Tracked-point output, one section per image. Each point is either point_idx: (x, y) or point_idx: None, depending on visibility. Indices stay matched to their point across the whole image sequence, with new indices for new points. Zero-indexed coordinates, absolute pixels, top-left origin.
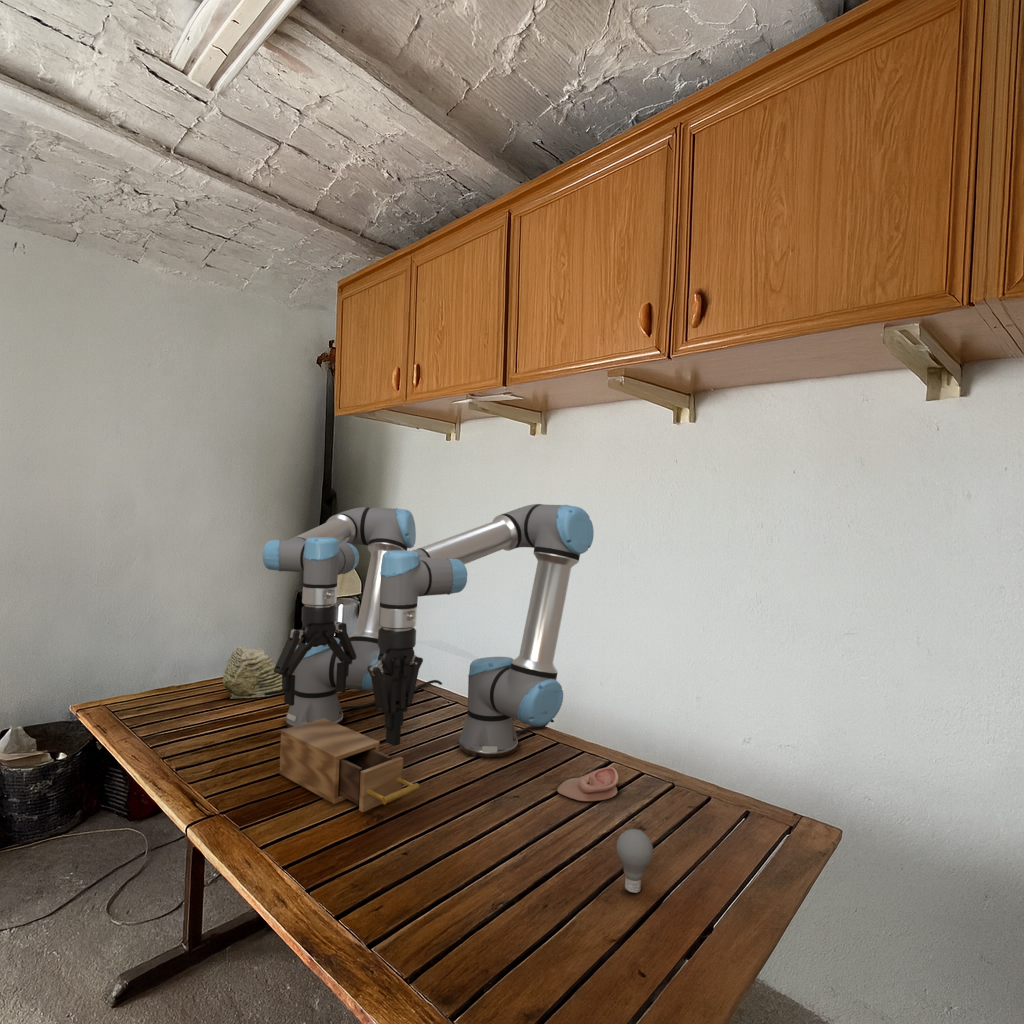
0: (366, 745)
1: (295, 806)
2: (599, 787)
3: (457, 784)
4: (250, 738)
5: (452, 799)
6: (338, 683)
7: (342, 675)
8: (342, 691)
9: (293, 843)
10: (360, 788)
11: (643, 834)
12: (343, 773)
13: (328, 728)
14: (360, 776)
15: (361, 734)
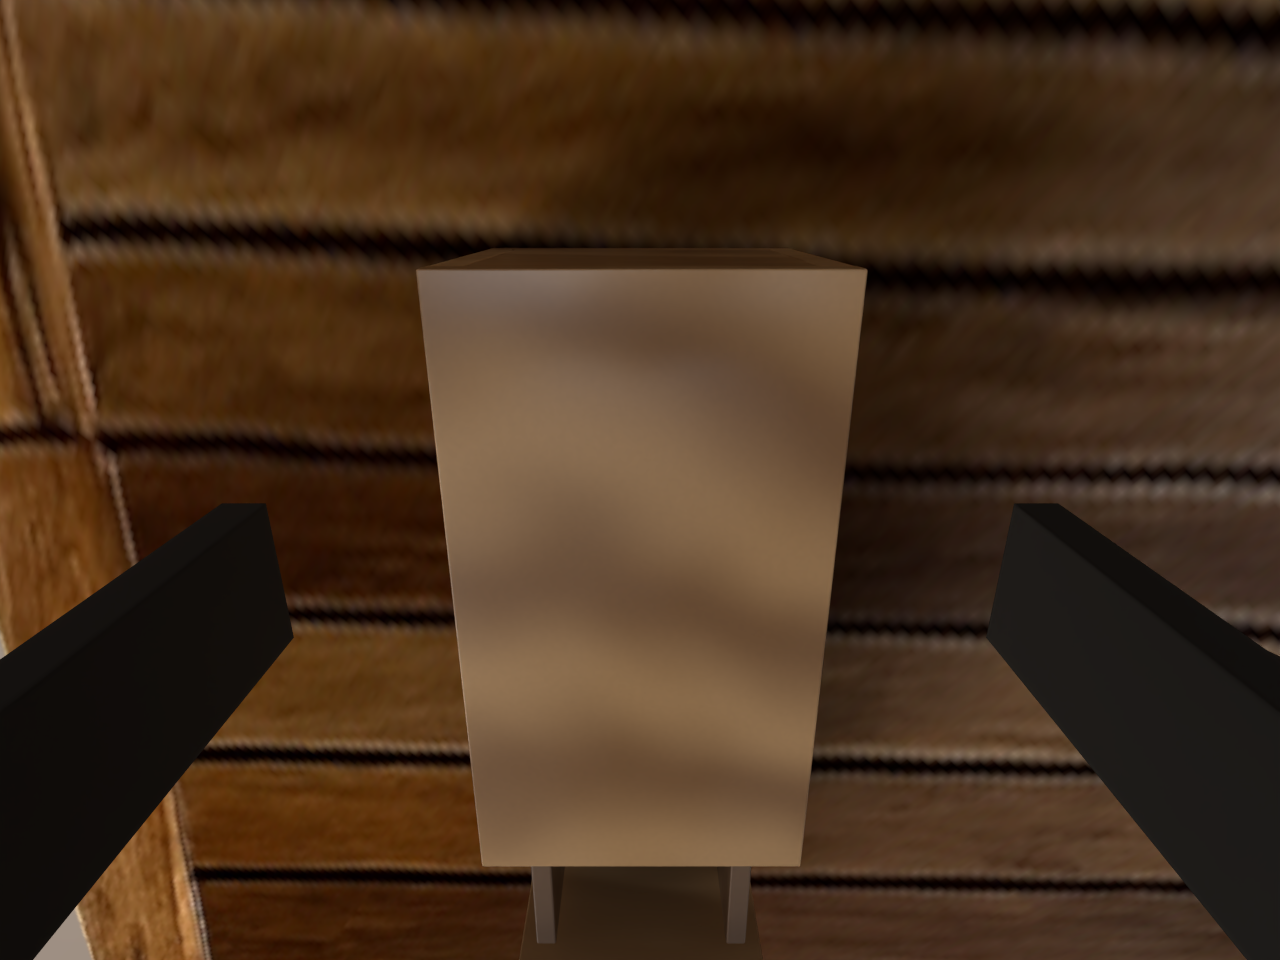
0: (706, 860)
1: (393, 603)
2: None
3: (978, 865)
4: None
5: (863, 918)
6: (1061, 602)
7: (1133, 784)
8: (993, 637)
9: (272, 798)
10: (529, 902)
11: None
12: None
13: (726, 502)
14: (520, 952)
15: (808, 730)
